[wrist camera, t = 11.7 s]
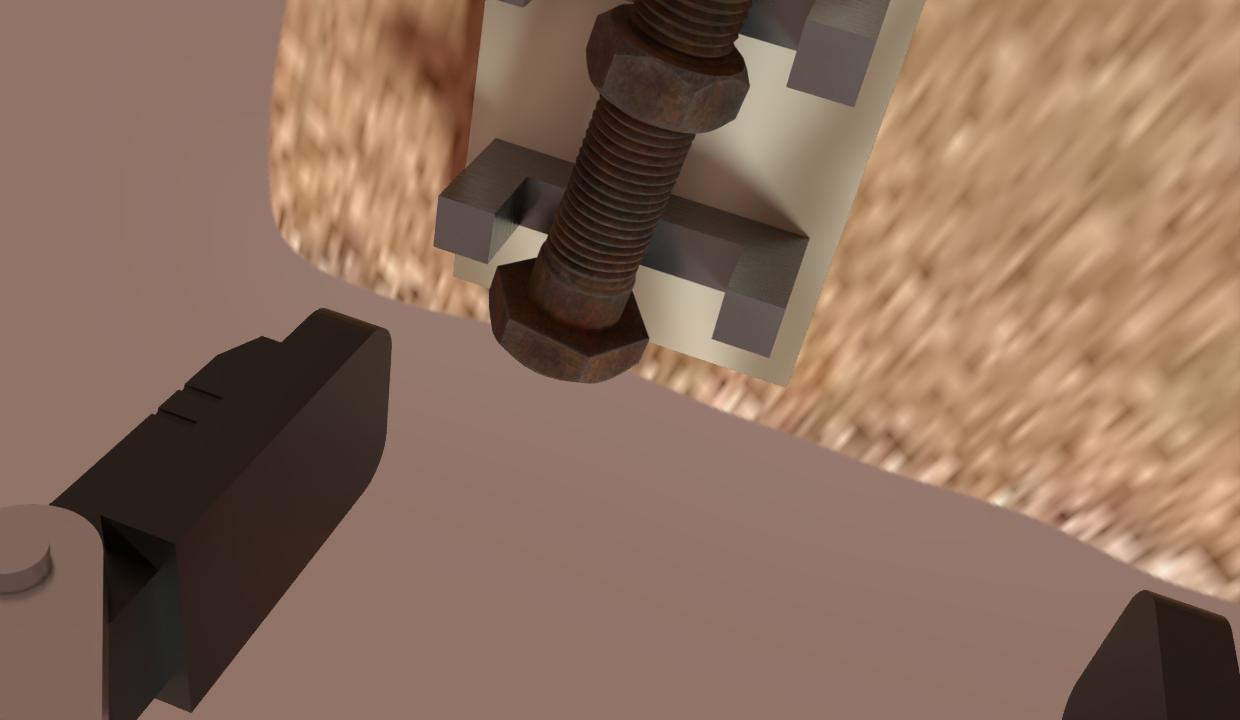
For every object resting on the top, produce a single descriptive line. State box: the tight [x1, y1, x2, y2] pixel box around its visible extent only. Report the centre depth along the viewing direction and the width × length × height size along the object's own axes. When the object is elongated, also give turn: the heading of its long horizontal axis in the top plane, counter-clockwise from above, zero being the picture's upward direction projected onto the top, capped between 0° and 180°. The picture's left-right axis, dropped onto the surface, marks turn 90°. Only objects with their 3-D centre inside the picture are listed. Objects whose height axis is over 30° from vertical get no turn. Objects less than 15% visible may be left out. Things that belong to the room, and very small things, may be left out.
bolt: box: [489, 0, 752, 384], centre depth 35 cm, size 6×5×15 cm
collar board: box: [453, 0, 925, 388], centre depth 39 cm, size 14×20×2 cm
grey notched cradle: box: [434, 0, 891, 358], centre depth 36 cm, size 12×11×5 cm
